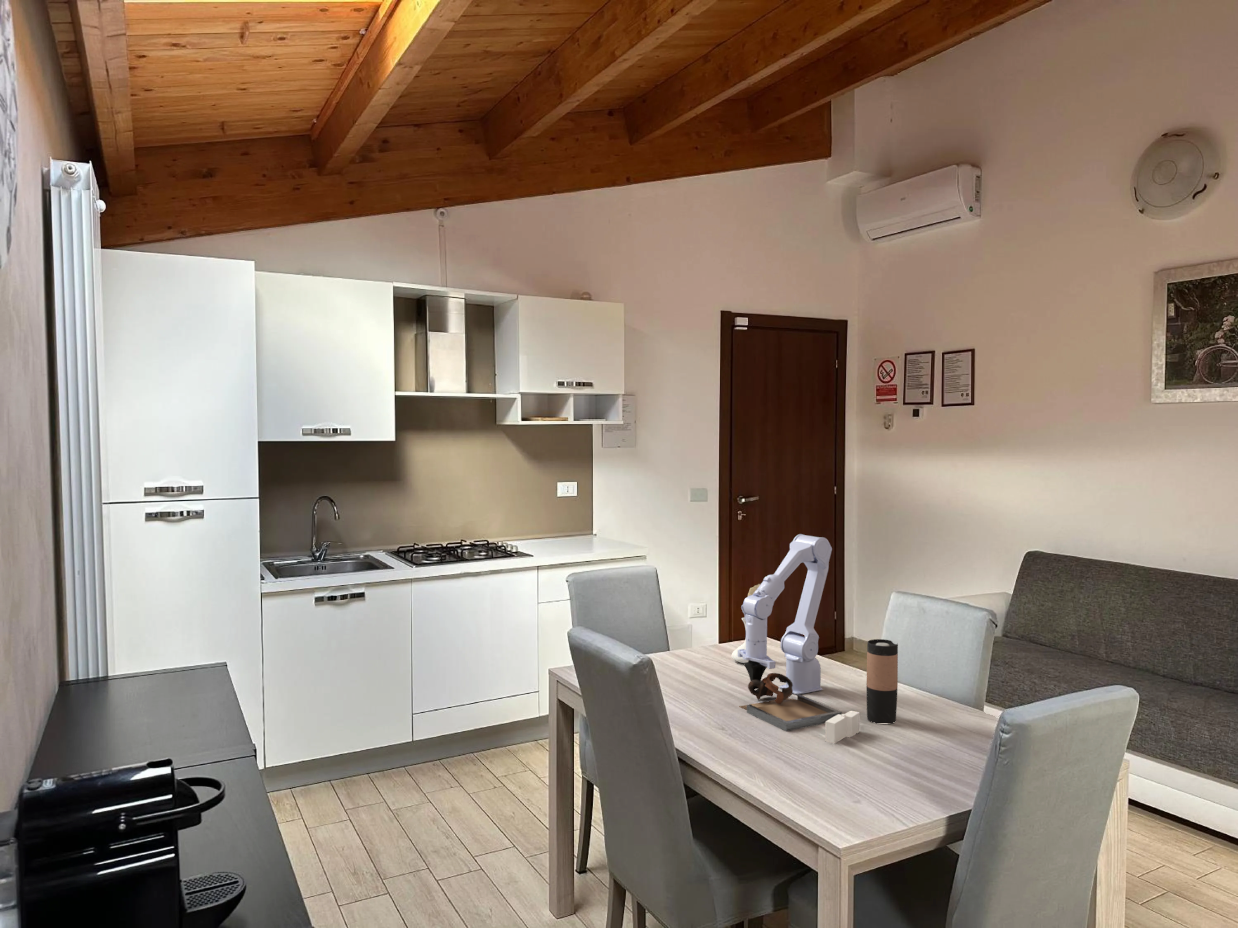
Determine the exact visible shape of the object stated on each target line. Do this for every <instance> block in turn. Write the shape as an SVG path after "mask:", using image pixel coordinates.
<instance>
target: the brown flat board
mask: <svg viewBox="0 0 1238 928" xmlns="http://www.w3.org/2000/svg"><path fill="white" fill-rule="evenodd" d="M775 700H776V699H772V700H766V701H760V702H754V703H749V704H750V705H752V706H755V707H757V708H759V709H761V710H763V711H765V712H768V713H770V714H772V715H774V716H776V717H778V718H780V719H783V720H785V721H790V720H795V719H800V718H805V717H810V716H815V715H820V714H825V713H827V712H825V711H823V710H820V709H818V708H816V707H813V706H811V705H809V704H806V703H804V702H802V701H799V700H797V699H796V698H790V697H789V698H787V699H785V700H783V702H782V703H781V704H778V703H776V702H775ZM747 705H748V704H744V705H739V706H738V707H739V708H741V709H743V710H744V711H747Z"/></svg>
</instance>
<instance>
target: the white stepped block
mask: <svg viewBox="0 0 1238 928" xmlns="http://www.w3.org/2000/svg"><path fill="white" fill-rule="evenodd" d="M860 714H861V713H860V712H859V711H854V710H850V711H847V712H846V713H842V715H839V714H838V715H836V716H834V717H833V718H831V719H829V720H827V721H826V722H825V723H824V724H825V728H824V730H825V731H824V733H825V738H824V742H827V743H829V744H834V745H835V744H837V743H838V742H839V741H841V740H843V739H844V738H852V737H853V735H854V736H856V735H857V734H859V733H860V724H861V723H860V720H861V719H860V716H861V715H860ZM856 733H857V734H856Z"/></svg>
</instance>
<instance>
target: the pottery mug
mask: <svg viewBox="0 0 1238 928" xmlns="http://www.w3.org/2000/svg"><path fill="white" fill-rule="evenodd" d="M776 679H778V680H779V683H784V684H786V683H787V684H788V686H789V687H788V688H781V690H779V688H780V687H779V686H778V685H776V684H775V683H773V682H774V681H775V680H776ZM754 686H757V687H758V689H754V688H753V687H754ZM792 686H793V684H792V682H791V680H790V679H789V678H788V677H786V675H784V674H781V673H777V672H771V673H768V674H767V675H766V677H764V678H763V679H761V681H759V680H752V681H749V683H748V684H747V689H748V691H749V692H750V694H751V695H752V696H755V697H756V699H757V700H758V701H759V700H760V699H761V697H763V696H765V697H767V696H768V697H773V696H774V695H775V694H776V698H775V699H774V700H775V702H776V703H778V704H781V703H782V702H783V700H785V699H787V698H790V697H791V696H792V695H793V693H792V692H793V690H792Z"/></svg>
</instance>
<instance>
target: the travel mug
mask: <svg viewBox="0 0 1238 928" xmlns="http://www.w3.org/2000/svg"><path fill="white" fill-rule="evenodd" d="M866 644H867V648H866V649H867V651H866V653H867V654H866V682H865V684H866V686H865V688H866V718H867V720H868V721H869V722H871V721H872V722H871V723H873V722H875V723H874V724H877V723H893V722H895V721H896V720H897V707H898V706H897V705H898V689H899V687H898V683H899V682H898V681H899V680H898V678H899V677H898V676H899V675H898V674H899V673H898V672H899V671H898V670H899V668H898V661H899V660H898V658H899V656H898V653H899V644H898V642H897V643H895V642H893V641H892V640H890V639H884V638H883V639H880V638H879V639H878V638H876V639H870V640H867V643H866ZM895 723H896V722H895ZM893 724H894V723H893Z"/></svg>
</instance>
